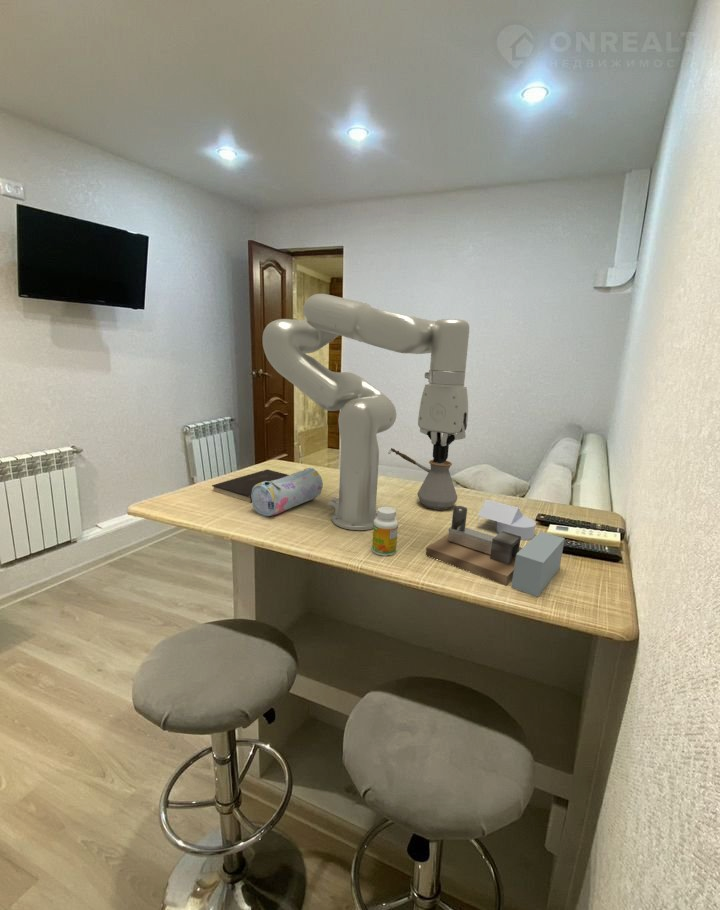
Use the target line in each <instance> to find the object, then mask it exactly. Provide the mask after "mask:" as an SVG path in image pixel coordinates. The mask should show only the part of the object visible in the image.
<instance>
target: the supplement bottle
mask: <svg viewBox="0 0 720 910" xmlns="http://www.w3.org/2000/svg"><path fill="white" fill-rule="evenodd" d="M376 513H377V516H378V517H376V518H375V519H374V524H373V529H372V539H371V541H372V542H371V543H372V544H371V550H372V552H373V553H374V554H375V555H378V556H381V555H382V557H389V556H388V555H390V556H392V555H395V554H396V552H397V546H398V545H397V543H398V532H399V531H398V529H399V521H398V520H397V518H396V516H397V509H395V508H394V507H390V506H381V507H378V509H377V510H376Z"/></svg>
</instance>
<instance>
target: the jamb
mask: <svg viewBox="0 0 720 910" xmlns="http://www.w3.org/2000/svg"><path fill="white" fill-rule="evenodd" d="M565 539H566V538H565V537H562V536H559V535H555V534H551V533H547V532H544V531H539V532H538V533H537V534H536V535H534V537H533V538H532V539H530V540H529V541H528V543H526V544H525V546H523V547H521V548H522V549H521V550H520V551H519V552H518V553H517V554H516V558H515V565H514V572H513V579H512V580H511V585H510V586H511V588H512V589H515V590H517V591H520V592H523V593H525V594H528V595H531V596H533V597H537V598H538V597H540V595H541V593H542V592H543V591H544V589H546V588H547V586H548V584H549V583H550V582H551V580H552V579H553V578H554V576H556V573H558V571H559V570H560V569H561V568H560V567H561V562H562V557H563V550H564V545H565Z"/></svg>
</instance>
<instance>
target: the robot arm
mask: <svg viewBox="0 0 720 910" xmlns="http://www.w3.org/2000/svg"><path fill="white" fill-rule="evenodd" d="M302 314H303V317H304V320H299V319H292V318H291V319H290V318H279V319H276V320H273V321H271V322H269V323H268V324H267V325H266V327H264V330H263V333H262V348H263V351H264V354H265V356H266V359H267V361H268V362H269V364H270V365H271V367H273V369H274V370H275V371H276V372H277V373H278V374H279V375H280V376H282V377H283V378H285V380H287V381H288V382H289V383H291V384H292V385H293V386H295V387H296V388H297V389H298V390H299V391H300V392H302V393H303V394H304V395H306V397H307V398H309V399H310V400H311V401H313V402H314V403H315V404H316V405H318V406H319V407H320V408H321V409H323V410H324V411H328V412H329V411H330V412H335V411H339V414H338V420H337V421H338V430H339V438H340V461H339V462H340V463H339V465H340V467H339V488H338V489H339V490H338V497H336V496H334V497H332V498H331V500H330V501H329V502H328V506H329V507H331V508H334V509H335V510H334V512H333V513H332V515H331V520H332V523H333V525H335V526H337V527H339V528H341V529H345V530H351V531H367V530H373V524H374V519H375V518H376V517H378V516H377V510H376V508H377V494H378V479H379V463H380V462H379V461H380V449H379V442H378V439H377V438H378V437H377V434H380V433H383V432H386V431H387V430H389V429H390V428H392V426H394V424H395V423H396V419H397V409H396V406H395V405H394V403H393V401H392V400H391V399H390V398H389V397H388V396H386V395H385V394H384V393H383V392H381V391H380V390H379V389H377V388H376V387H375V386H373V385H372V384H371V383H370V382H368V381H367V380H365V379H364V378H362V377H361V376H359V375H357V374H355V373H354V372H349V371H348V372H336V371H332V370H330V369H329V368H327V367H325V365H323V364H322V363H321V362H319V361H318V360H317V359H316V358H314V357H312V356H310V355H308V354H311V353H315V352H317V351H319V350H321V349H322V348H323V347H325V346H326V345H329V344H330V343H331V342H332V341H334V340H335V339H336V338H338V337H339V336H340V337H345V338H348V339H351V340H355V341H357V342H360V343H364V344H368V345H370V346H374V347H376V348H381V349H385V350H388V351H391V352H394V353H400V354H412V355H413V354H414V355H424V354H430V364H429V365H430V366H429V370H428V372H425V373H424V378H425V379H428V383H426V384H424V387H423V391H422V394H421V398H420V405H419V409H418V410H419V411H418V419H417V425H418V427H419V432H420V434H421V433H422V434H423V435H425V436H428V438H429V440H430V442H431V445H433V447H432V458H433V459H432V460H433V462H435V463H436V462H438V463H443V462H446V461H447V460H448V458H449V457H448V456H449V450H450V449H449V447H450V446H451V445H452V443H453V442H455V441H457V440H459V441H460V440H464V439H465V438H466V430H467V427H468V420H469V400H468V396H469V395H468V389H467V387H466V386H465V379H466V370H467V369H466V368H467V357H468V348H469V347H468V346H469V337H470V325H469V324H470V323H469V322H468V321H466V320H464V319H456V318H445V319H444V318H443V319H442V318H441V319H437V320H436V321H435V320H429V319H426V318H425V319H424V318H421V317H415V316H409V315H405V314H400V313H395V312H392V311H387V310H383V309H379V308H375V307H372V306H371V305H370V304H369V303H366V302H363V301H359V300H358V301H357V300H353V299H348V298H344V297H340V296H335V295H331V294H327V293H316V294H315V293H314V294H312V295H311V296H309V297H307V299H306V301H305V302H304V304H303V308H302Z"/></svg>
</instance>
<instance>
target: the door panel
mask: <svg viewBox="0 0 720 910" xmlns="http://www.w3.org/2000/svg"><path fill="white" fill-rule="evenodd" d="M521 541H522V540H521V536H518V535H514V534H511V533H507V532H504V531H502V532H501V533H498V534H496V536H495V537H494V538H493V539H492V547H491V554H487V553H484V552H481V551H478V550H475V549H472V548H469V547H466V546H463V545H460V544H457V543H454V542H451V541H448V533H447V534H445V535H444V536H441V537H440V538H439V539H437V540H436V541H434V542H433V543H431V544H430V545H428V546H427V547H426V549H425V556H426V555H427V556H426V557H428V556H430V557H433V558H435V559H434V560H436V559H438V560H441V561H443V562H442V563H444V562H445V563H444V564H447V563H448V564H447V565H449V564H451V565H450V566H452V565H454V566H453V567H455V566H456V567H455V568H457V567H459V568H458V569H460V568H461V569H460V570H463V569H464V570H463V571H466V570H467V571H466V572H468V571H470V572H469V573H471V572H472V574H474V573H475V574H474V575H476V574H478V575H477V576H479V575H480V577H482V576H483V578H485V579H487V578H489V579H488V580H490V579H491V580H490V581H493V580H494V581H493V582H495V581H496V582H495V583H498V584H501V585H503V586H507V585H508V584H510V582H512V579H513V572H514V565H515V558H516V554H517V553H518V552H519V551H520V550H521V549H522V548H523V547H520V546H521ZM430 557H429V558H430ZM433 558H432V559H433ZM438 560H437V561H438ZM441 561H440V562H441Z"/></svg>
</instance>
